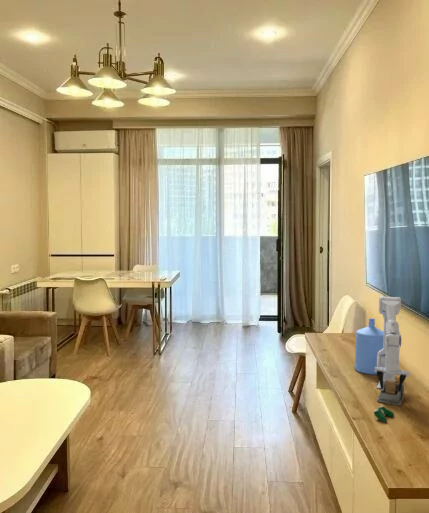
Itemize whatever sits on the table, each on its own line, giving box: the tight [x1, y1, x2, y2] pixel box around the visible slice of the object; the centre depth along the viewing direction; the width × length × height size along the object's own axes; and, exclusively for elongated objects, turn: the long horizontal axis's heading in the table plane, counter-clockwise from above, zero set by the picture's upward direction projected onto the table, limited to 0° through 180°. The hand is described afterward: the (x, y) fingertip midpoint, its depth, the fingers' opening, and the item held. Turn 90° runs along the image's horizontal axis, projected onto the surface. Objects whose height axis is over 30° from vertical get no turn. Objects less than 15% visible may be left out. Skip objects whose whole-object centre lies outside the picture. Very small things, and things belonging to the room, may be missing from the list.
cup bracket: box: [376, 381, 405, 407], centre depth 229 cm, size 12×10×6 cm
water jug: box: [354, 318, 386, 376], centre depth 269 cm, size 16×16×28 cm
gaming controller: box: [373, 404, 395, 423], centre depth 208 cm, size 9×4×6 cm
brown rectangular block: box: [385, 379, 397, 395], centre depth 228 cm, size 4×4×8 cm
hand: (390, 389), depth 228 cm, fingers open, 7 cm apart
